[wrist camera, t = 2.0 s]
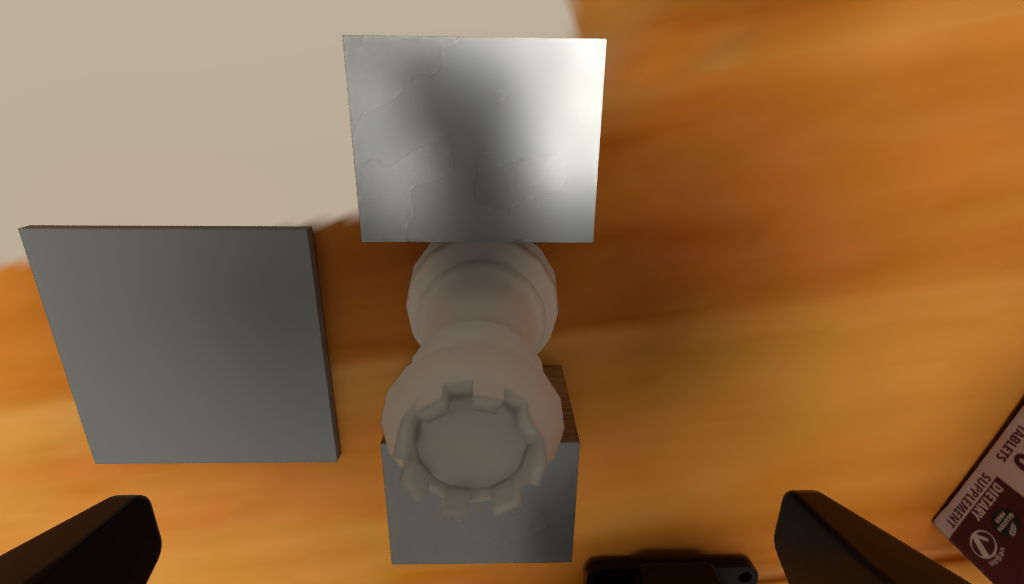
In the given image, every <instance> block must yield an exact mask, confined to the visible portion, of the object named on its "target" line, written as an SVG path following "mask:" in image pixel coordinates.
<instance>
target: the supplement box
mask: <svg viewBox="0 0 1024 584" xmlns="http://www.w3.org/2000/svg"><path fill="white" fill-rule="evenodd" d="M934 524H935V526H936V527H937V528H938V529H939V530H940V532H941V533H943V534H944V535H945V536H946V537H947V538H948V539H949V540H950V541H951V542H952V543H953V544H954V545H955V546H956V547H957V548H958V549H959V550H960V551H961V552H962V553H963V554H964V555H965V556H966V557H967V558H968V559H969V560H970V561H971V562H972V563H973V564H974V565H975V566H976V567H977V568H978V569H979V570H980V571H981V572H982V573H983V574H984V575H985V576H986V577H987V578H988V579H989V580H990V581H991V582H992V583H993V584H1024V405H1023V406H1022V408H1021V409H1020V410H1019V412H1018V413H1017V414H1016V416H1015V417H1014V419H1013V420H1012V421H1011V423H1010V424H1009V425H1008V427H1007V428H1006V429H1005V431H1004V432H1003V433H1002V435H1001V436H1000V437H999V439H998V440H997V441H996V443H995V444H994V446H993V447H992V448H991V450H990V451H989V452H988V453H987V455H986V456H985V457H984V459H983V460H982V461H981V463H980V464H979V466H978V467H977V468H976V469H975V471H974V472H973V473H972V475H971V476H970V477H969V478H968V480H967V481H966V482H965V483H964V485H963V486H962V487H961V489H960V490H959V491H958V493H957V494H956V495H955V496H954V498H953V499H952V500H951V502H950V503H949V504H948V506H947V507H946V508H944V509H943V510H942V511H941V512H940V514H939V515H938V516H937V517H936V519H935V520H934Z"/></svg>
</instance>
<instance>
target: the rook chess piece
mask: <svg viewBox="0 0 1024 584" xmlns="http://www.w3.org/2000/svg"><path fill="white" fill-rule="evenodd" d="M406 307H407V312H408V316H409V321H410V325H411V329H412V333H413V336H414V338H415V339H416V340H417V342H418V343H419V344H420V346H421V347H420V348H419V349H418V351H417V352H416V353H415V355H414V356H413V358H412V363H411V364H409V365H408V366H407V367H406V368H405V369H404V371H403V372H402V373H401V374H400V376H399V377H398V378H397V380H396V381H395V382H394V384H393V385H392V386H391V388H390V389H389V390H388V391H387V394H386V399H385V404H384V409H383V414H382V419H381V425H382V429H383V433H384V436H385V440H386V444H387V448H388V451H389V453H390V454H391V456H392V459H395V460H396V462H397V463H398V464H399V465H400V467H401V468H402V471H401V475H400V479H399V482H398V484H399V485H400V486H401V487H402V489H403V490H404V491H405V492H406V493H407V495H408V496H409V497H410V498H411V499H412V501H413V502H414V503H415V504H416V503H417V502H418V501H420V500H421V499H422V498H423V497H425V496H426V495H427V494H428V490H430V491H431V492H433V493H435V494H437V495H438V496H440V497H442V505H441V512H440V518H446V519H451V520H457V521H462V522H468V519H469V506H470V503H473V502H480V501H488V500H491V507H492V509H493V511H494V514H495V516H496V518H497V519H498V518H500V517H502V516H504V515H506V514H508V513H510V512H512V511H514V510H517V509H519V508H521V507H522V497H521V487H523V486H525V485H526V484H528V483H529V484H532V485H534V486H537V487H541V484H542V481H543V478H544V475H545V472H546V469H547V466H548V464H549V463H550V462H551V461H552V460H553V459H554V458H555V455H556V452H557V449H558V446H559V443H560V440H561V437H562V435H563V432H564V422H563V414H562V406H561V398H560V397H559V395H558V394H557V392H556V391H555V389H554V388H553V386H552V384H551V383H550V381H549V380H548V378H547V377H546V375H545V374H544V372H543V367H542V362H541V360H540V359H539V357H538V353H539V352H540V351H541V350H542V349H543V348H544V346H545V345H546V344H547V343H548V342H549V340H550V337H551V334H552V331H553V328H554V325H555V322H556V318H557V315H558V312H559V308H558V296H557V287H556V279H555V272H554V270H553V269H552V267H551V265H550V264H549V262H548V260H547V259H546V257H545V255H544V253H543V252H542V250H541V248H540V247H538V246H537V245H535V244H534V243H533V242H431V243H430V244H429V246H428V247H427V249H426V250H425V251H424V253H423V254H422V255H421V257H420V258H419V260H418V261H417V262H416V264H415V265H414V268H413V273H412V276H411V281H410V286H409V291H408V296H407V300H406Z"/></svg>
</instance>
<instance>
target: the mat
mask: <svg viewBox="0 0 1024 584" xmlns="http://www.w3.org/2000/svg"><path fill="white" fill-rule="evenodd" d="M18 230H19V233H20V236H21V239H22V242H23V245H24V248H25V251H26V254H27V257H28V260H29V264H30V267H31V270H32V273H33V276H34V279H35V282H36V285H37V288H38V291H39V294H40V297H41V300H42V303H43V306H44V309H45V312H46V315H47V318H48V321H49V324H50V327H51V330H52V333H53V337H54V340H55V343H56V346H57V349H58V352H59V355H60V358H61V361H62V364H63V367H64V370H65V373H66V376H67V379H68V382H69V385H70V388H71V391H72V394H73V397H74V400H75V403H76V406H77V409H78V413H79V416H80V419H81V422H82V425H83V428H84V431H85V434H86V437H87V440H88V443H89V446H90V449H91V452H92V455H93V458H94V461H95V464H135V463H271V462H337V461H338V459H339V457H340V455H341V454H340V446H339V438H338V430H337V422H336V415H335V407H334V399H333V391H332V383H331V375H330V367H329V360H328V352H327V344H326V336H325V328H324V320H323V312H322V304H321V297H320V289H319V281H318V273H317V265H316V257H315V249H314V241H313V234H312V227H277V226H53V225H51V226H50V225H47V226H46V225H41V226H40V225H30V226H26V227H22V228H18Z"/></svg>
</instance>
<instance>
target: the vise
mask: <svg viewBox="0 0 1024 584" xmlns="http://www.w3.org/2000/svg"><path fill="white" fill-rule="evenodd" d="M342 37H343V47H344V58H345V69H346V79H347V90H348V101H349V111H350V121H351V133H352V143H353V154H354V164H355V175H356V186H357V197H358V207H359V218H360V229H361V239H362V242H563V243H593V235H594V220H595V205H596V190H597V175H598V160H599V145H600V130H601V115H602V100H603V85H604V70H605V55H606V40H607V39H579V38H508V37H436V36H435V37H434V36H367V35H366V36H365V35H343V36H342ZM542 367H543V372H544V374H545V375H546V377H547V378H548V380H549V381H550V383H551V384H552V386H553V388H554V389H555V391H556V392H557V394H558V395H559V397H560V398H561V406H562V414H563V422H564V432H563V435H562V437H561V440H560V443H559V446H558V449H557V452H556V455H555V458H554V459H553V460H552V461H551V462H550V463H549V464H548V466H547V469H546V472H545V475H544V478H543V481H542V484H541V487H537V486H534V485H532V484H529V483H528V484H526V485H525V486H523V487H521V497H522V507H521V508H519V509H517V510H514V511H512V512H510V513H508V514H506V515H504V516H502V517H500V518H498V519H497V518H496V516H495V514H494V511H493V509H492V507H491V500H488V501H480V502H473V503H470V506H469V519H468V522H462V521H457V520H451V519H446V518H440V512H441V505H442V497H440V496H438V495H437V494H435V493H433V492H431V491H430V490H428V494H427V495H426V496H425V497H423V498H422V499H421V500H420V501H418V502H417V503H416V504H415V503H414V502H413V501H412V499H411V498H410V497H409V496H408V495H407V493H406V492H405V491H404V490H403V489H402V487H401V486H400V485H399V484H398V482H399V479H400V475H401V471H402V468H401V467H400V465H399V464H398V463H397V462H396V460H395V459H392V456H391V454H390V453H389V451H388V448H387V444H386V440H385V436H383V438H382V441H381V453H382V464H383V474H384V485H385V496H386V506H387V517H388V528H389V538H390V549H391V560H392V564H468V563H478V564H490V563H547V562H572V551H573V536H574V521H575V506H576V490H577V475H578V460H579V445H580V442H579V437H578V433H577V429H576V425H575V421H574V417H573V412H572V408H571V404H570V400H569V396H568V391H567V387H566V383H565V379H564V375H563V370H562V366H542Z"/></svg>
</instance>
